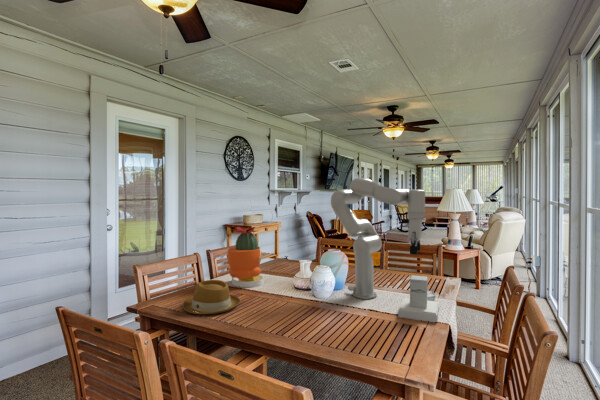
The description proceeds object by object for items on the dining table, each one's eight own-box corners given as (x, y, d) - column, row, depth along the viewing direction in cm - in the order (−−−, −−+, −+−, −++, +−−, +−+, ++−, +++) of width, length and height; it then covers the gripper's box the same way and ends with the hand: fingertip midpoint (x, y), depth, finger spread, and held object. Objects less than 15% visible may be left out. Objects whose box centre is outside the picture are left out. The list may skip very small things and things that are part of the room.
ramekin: (437, 308, 159) (437, 297, 159) (413, 306, 161) (413, 295, 161) (433, 300, 170) (433, 289, 170) (410, 298, 172) (410, 288, 172)
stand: (398, 317, 148) (398, 308, 148) (403, 305, 163) (403, 297, 163) (437, 322, 142) (437, 313, 141) (438, 309, 156) (438, 301, 156)
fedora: (213, 293, 185) (212, 272, 185) (251, 303, 169) (251, 280, 168) (170, 308, 164) (169, 285, 163) (209, 321, 147) (209, 295, 146)
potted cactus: (244, 277, 218) (243, 223, 217) (270, 282, 205) (269, 225, 204) (219, 285, 201) (217, 227, 199) (245, 291, 188) (244, 229, 186)
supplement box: (409, 306, 150) (409, 278, 149) (411, 301, 157) (410, 274, 156) (426, 308, 147) (426, 280, 146) (427, 303, 154) (427, 276, 153)
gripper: (410, 214, 165) (409, 248, 166) (404, 217, 149) (403, 255, 150) (426, 214, 161) (425, 249, 162) (422, 218, 146) (421, 257, 147)
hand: (415, 252), depth 156 cm, fingers open, 9 cm apart
